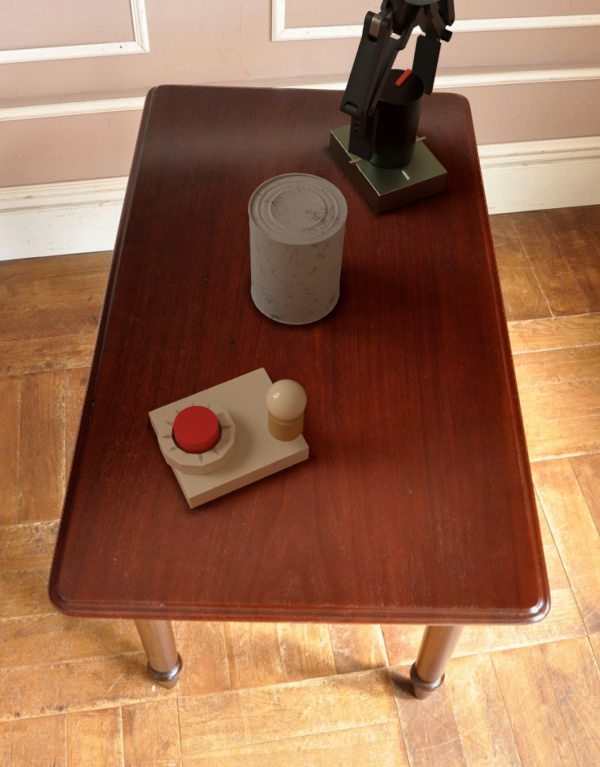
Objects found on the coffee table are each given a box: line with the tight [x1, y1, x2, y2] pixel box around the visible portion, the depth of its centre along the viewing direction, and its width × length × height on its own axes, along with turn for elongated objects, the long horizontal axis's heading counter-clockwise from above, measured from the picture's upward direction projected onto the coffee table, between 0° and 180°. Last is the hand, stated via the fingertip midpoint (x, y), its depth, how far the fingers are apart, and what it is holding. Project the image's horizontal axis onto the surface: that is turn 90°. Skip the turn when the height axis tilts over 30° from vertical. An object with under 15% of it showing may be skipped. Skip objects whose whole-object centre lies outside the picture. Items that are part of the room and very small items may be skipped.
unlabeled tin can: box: [247, 172, 348, 326], centre depth 87 cm, size 10×10×12 cm
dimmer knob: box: [370, 68, 425, 168], centre depth 97 cm, size 6×6×9 cm
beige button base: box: [148, 367, 310, 509], centre depth 80 cm, size 10×12×4 cm
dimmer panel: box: [328, 123, 448, 215], centre depth 102 cm, size 12×10×3 cm
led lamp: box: [265, 378, 308, 442], centre depth 76 cm, size 4×4×6 cm
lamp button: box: [173, 406, 219, 453], centre depth 78 cm, size 4×4×2 cm
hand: (391, 121), depth 97 cm, fingers open, 13 cm apart
